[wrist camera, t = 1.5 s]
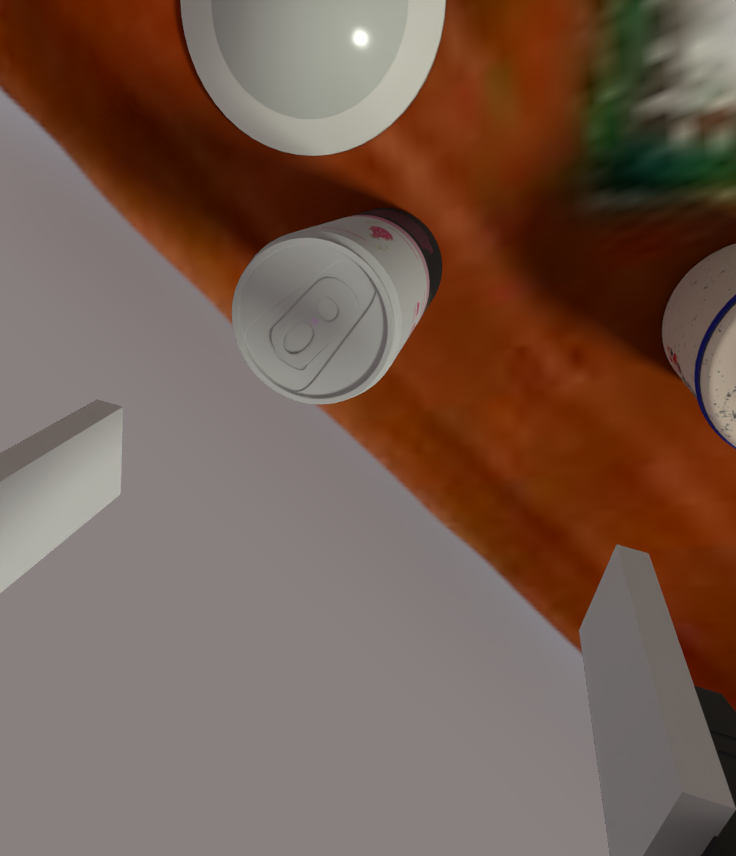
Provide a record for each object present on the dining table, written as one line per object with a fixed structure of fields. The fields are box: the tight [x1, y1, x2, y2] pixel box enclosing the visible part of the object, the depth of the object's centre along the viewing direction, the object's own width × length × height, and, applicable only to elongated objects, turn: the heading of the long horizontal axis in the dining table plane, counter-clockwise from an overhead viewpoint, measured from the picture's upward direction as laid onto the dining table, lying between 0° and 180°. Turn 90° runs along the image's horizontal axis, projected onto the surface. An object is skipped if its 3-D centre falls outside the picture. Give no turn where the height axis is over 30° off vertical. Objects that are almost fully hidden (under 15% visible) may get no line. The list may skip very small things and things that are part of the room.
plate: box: [180, 0, 446, 156], centre depth 32 cm, size 14×14×1 cm
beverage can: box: [232, 208, 442, 404], centre depth 30 cm, size 6×7×15 cm
